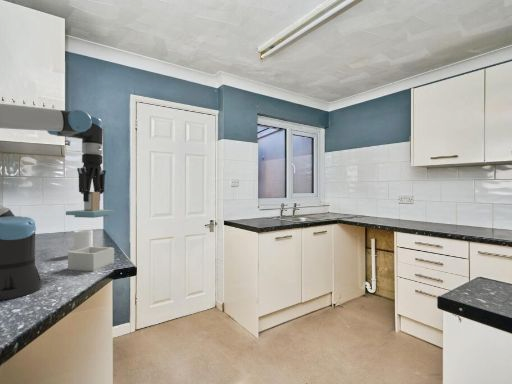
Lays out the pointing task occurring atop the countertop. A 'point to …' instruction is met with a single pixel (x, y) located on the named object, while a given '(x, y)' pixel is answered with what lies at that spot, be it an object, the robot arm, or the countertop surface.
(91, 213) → the lid
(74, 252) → the tub
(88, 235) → the mug
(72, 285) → the countertop surface
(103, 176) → the robot arm
